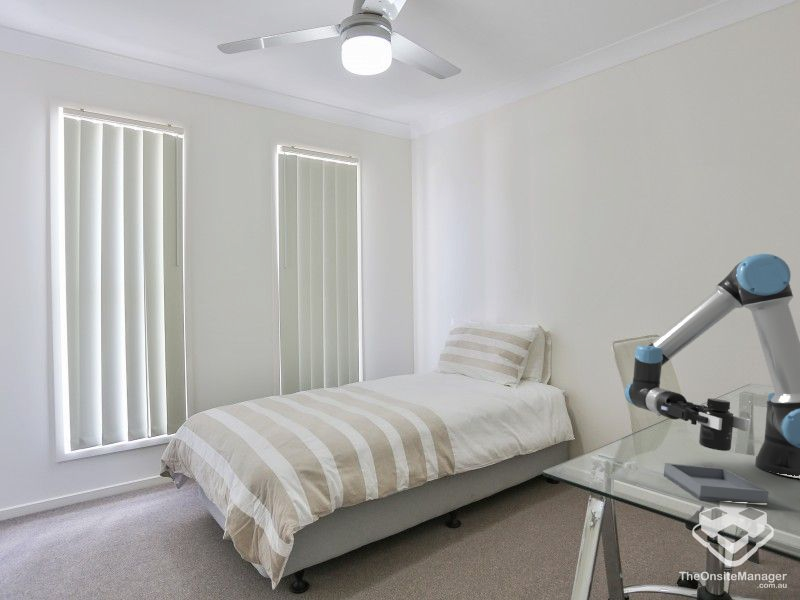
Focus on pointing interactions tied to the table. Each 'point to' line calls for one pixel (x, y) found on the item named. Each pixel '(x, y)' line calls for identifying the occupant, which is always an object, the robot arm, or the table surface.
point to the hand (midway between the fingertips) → (733, 425)
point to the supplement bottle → (713, 436)
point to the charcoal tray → (714, 484)
